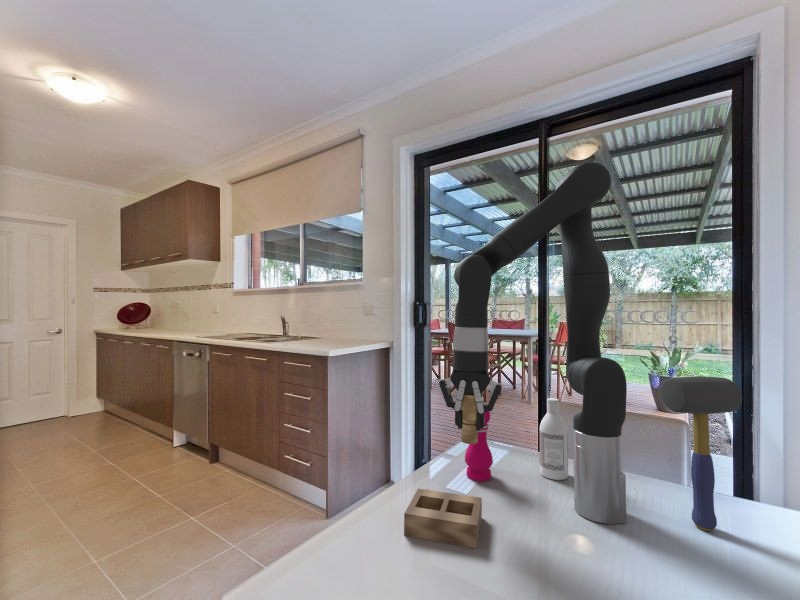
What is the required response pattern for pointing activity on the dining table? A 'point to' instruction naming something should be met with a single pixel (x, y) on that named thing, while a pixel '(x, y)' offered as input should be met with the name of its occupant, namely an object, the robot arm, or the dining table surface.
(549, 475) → the bath foam
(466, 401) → the peg
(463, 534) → the board
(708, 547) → the dining table surface
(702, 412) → the rubber mallet
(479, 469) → the pepper mill
